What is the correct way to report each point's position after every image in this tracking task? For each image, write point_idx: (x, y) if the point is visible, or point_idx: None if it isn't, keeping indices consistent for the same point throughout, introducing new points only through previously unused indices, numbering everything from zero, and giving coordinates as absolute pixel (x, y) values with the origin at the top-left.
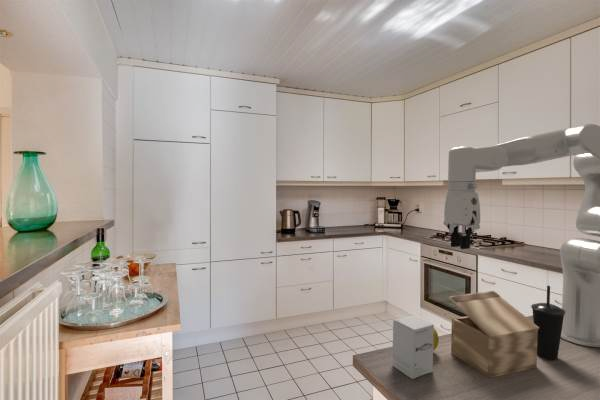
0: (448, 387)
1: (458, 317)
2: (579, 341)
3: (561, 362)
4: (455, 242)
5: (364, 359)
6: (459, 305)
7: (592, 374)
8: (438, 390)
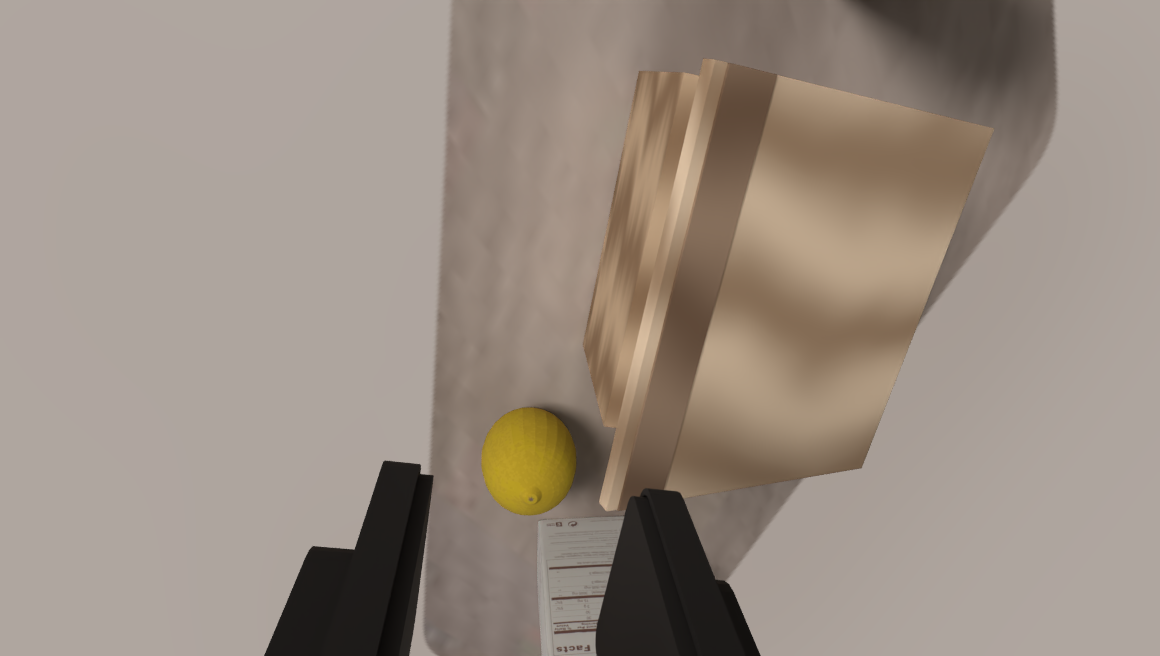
0: (723, 532)
1: (614, 380)
2: None
3: None
4: (408, 637)
5: (457, 650)
6: (684, 494)
7: None
8: (715, 567)
